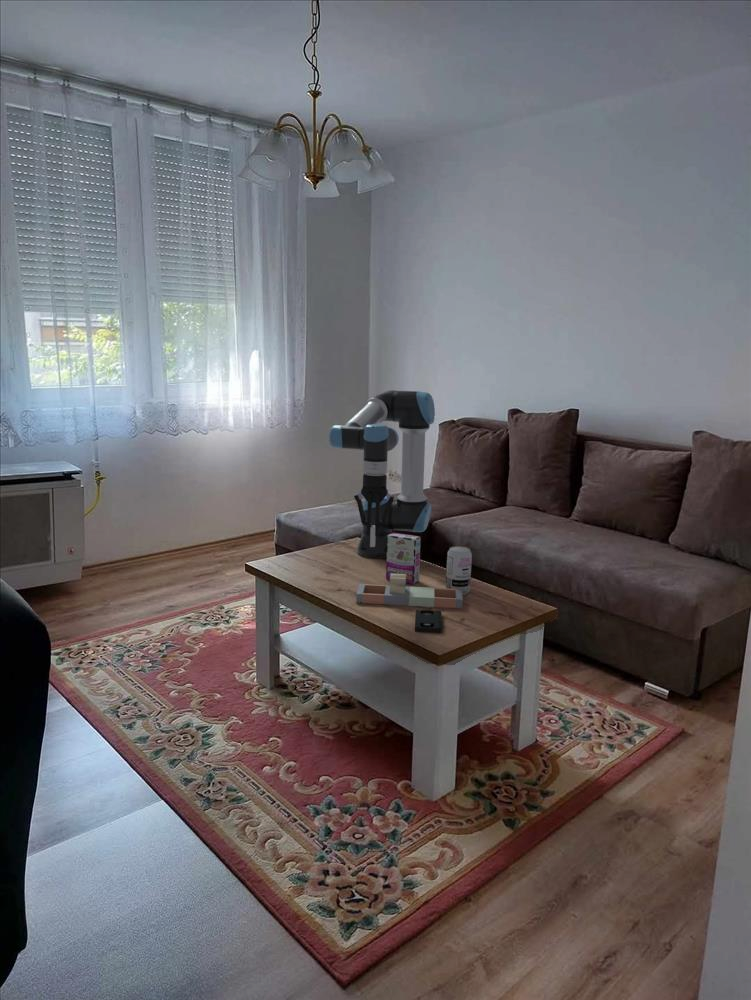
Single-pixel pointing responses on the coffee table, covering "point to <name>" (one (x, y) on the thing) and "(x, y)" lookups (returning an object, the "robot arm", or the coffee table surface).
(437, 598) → the trap runway
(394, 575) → the birch block
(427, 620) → the vhs tape
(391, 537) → the candy bar box
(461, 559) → the supplement can
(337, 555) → the coffee table surface
